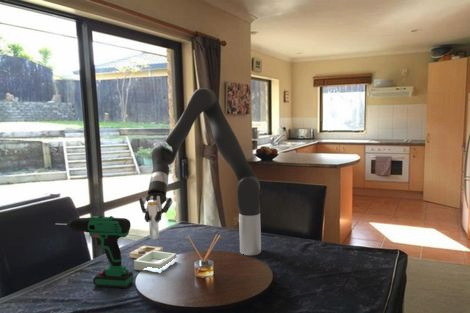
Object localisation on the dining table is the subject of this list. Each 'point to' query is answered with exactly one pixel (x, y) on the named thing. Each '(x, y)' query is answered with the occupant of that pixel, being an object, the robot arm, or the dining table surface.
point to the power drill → (107, 247)
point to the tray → (153, 260)
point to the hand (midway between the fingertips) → (152, 221)
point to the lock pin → (153, 219)
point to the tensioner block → (144, 251)
